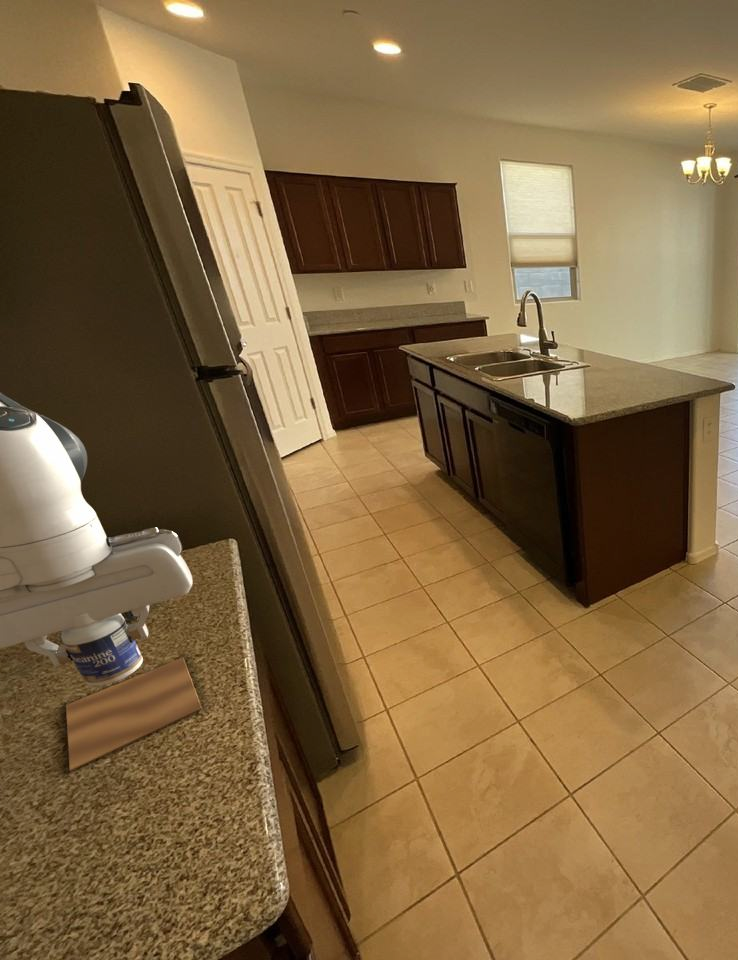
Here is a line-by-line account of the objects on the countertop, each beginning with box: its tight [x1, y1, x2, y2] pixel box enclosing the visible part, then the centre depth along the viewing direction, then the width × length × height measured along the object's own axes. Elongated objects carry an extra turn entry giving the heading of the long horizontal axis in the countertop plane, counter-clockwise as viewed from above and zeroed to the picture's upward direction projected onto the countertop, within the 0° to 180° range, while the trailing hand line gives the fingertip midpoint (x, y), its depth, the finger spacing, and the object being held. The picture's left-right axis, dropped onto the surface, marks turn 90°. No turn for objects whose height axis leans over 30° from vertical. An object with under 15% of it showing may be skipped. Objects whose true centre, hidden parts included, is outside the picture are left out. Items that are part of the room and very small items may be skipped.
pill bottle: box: [60, 614, 144, 687], centre depth 63 cm, size 5×5×10 cm
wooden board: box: [65, 657, 203, 772], centre depth 67 cm, size 14×12×1 cm
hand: (103, 649), depth 64 cm, fingers closed on pill bottle, 5 cm apart
